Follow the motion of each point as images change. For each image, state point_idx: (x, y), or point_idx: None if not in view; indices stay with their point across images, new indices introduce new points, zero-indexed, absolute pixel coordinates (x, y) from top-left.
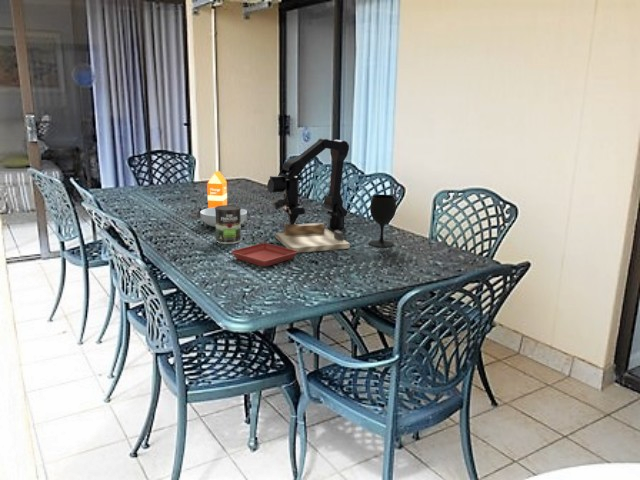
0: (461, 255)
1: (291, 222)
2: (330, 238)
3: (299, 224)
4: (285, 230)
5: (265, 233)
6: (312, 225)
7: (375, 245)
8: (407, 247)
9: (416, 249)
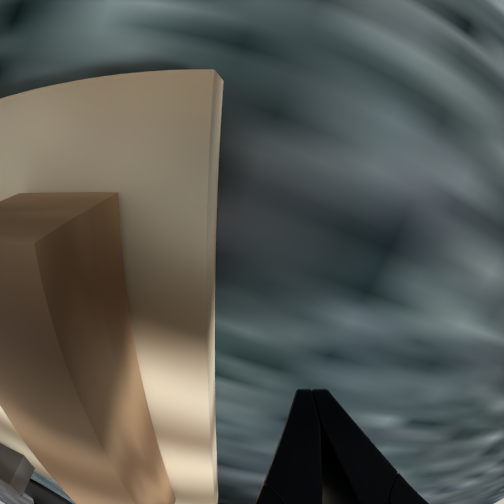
0: (3, 498)
1: (275, 453)
2: (5, 437)
3: (99, 466)
4: (1, 211)
5: (460, 58)
6: (70, 496)
7: None
8: (29, 499)
9: (18, 496)
